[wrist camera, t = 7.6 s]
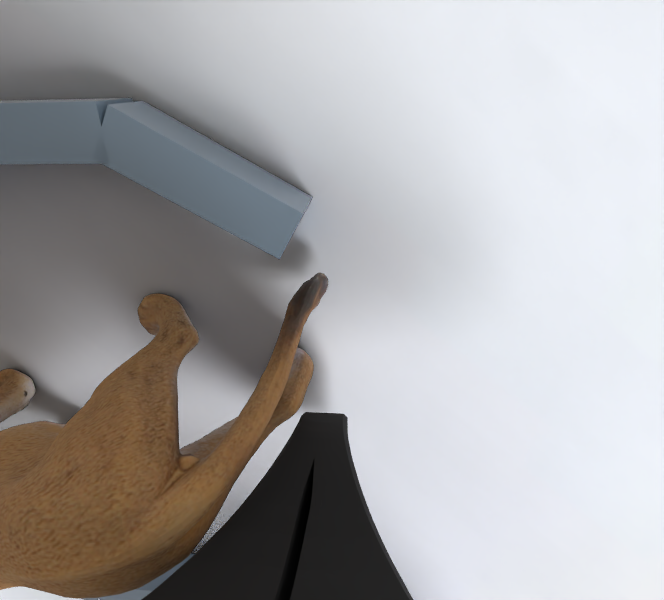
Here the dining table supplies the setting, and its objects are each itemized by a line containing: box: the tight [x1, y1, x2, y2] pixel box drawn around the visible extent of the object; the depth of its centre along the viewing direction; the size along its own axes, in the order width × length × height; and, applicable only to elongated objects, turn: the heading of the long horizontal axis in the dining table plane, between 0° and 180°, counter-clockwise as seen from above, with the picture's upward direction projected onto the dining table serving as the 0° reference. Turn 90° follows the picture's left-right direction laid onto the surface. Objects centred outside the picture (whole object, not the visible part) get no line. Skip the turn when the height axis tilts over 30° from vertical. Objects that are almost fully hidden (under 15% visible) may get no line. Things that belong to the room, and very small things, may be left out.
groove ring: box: [0, 98, 313, 600], centre depth 14 cm, size 17×15×2 cm
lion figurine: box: [0, 273, 328, 598], centre depth 10 cm, size 15×5×9 cm, turn 124°
